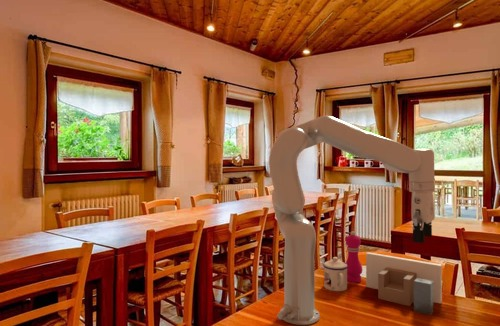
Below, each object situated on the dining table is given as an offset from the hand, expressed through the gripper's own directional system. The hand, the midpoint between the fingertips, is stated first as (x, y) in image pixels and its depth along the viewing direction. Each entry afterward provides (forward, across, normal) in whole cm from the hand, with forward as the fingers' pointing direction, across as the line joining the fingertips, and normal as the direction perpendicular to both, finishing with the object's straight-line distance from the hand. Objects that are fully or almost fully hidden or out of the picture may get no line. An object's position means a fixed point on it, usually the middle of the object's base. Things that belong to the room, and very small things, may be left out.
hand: (422, 239), depth 119 cm
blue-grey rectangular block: (+24, -1, 0) cm, 24 cm away
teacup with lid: (+23, 0, +31) cm, 39 cm away
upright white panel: (+24, +6, +10) cm, 26 cm away
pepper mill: (+24, +13, +30) cm, 40 cm away
